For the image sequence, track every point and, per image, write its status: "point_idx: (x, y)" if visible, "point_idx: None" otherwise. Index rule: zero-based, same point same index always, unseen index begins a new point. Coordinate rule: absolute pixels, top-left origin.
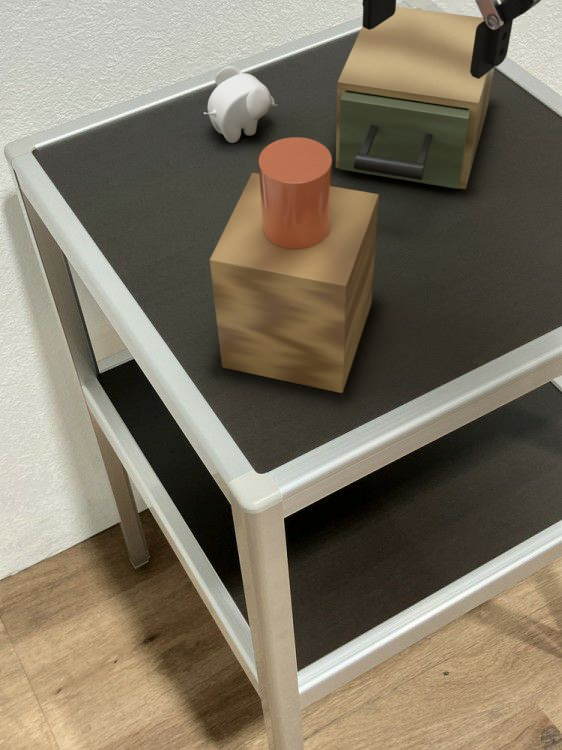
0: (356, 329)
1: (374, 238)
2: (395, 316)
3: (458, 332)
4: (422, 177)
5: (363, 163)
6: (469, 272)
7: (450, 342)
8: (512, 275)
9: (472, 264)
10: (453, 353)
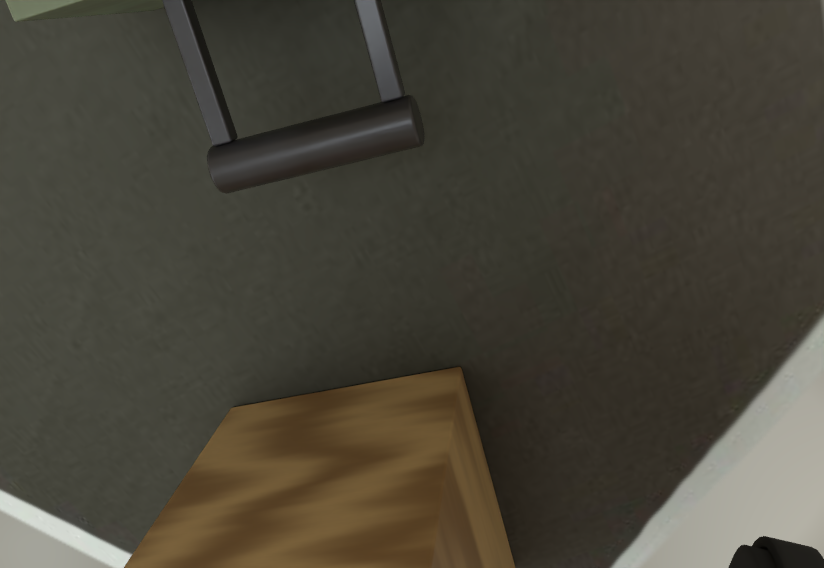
0: (491, 535)
1: (448, 508)
2: (521, 373)
3: (663, 357)
4: (422, 130)
5: (247, 186)
6: (623, 179)
7: (656, 388)
8: (728, 138)
9: (620, 150)
10: (672, 411)
